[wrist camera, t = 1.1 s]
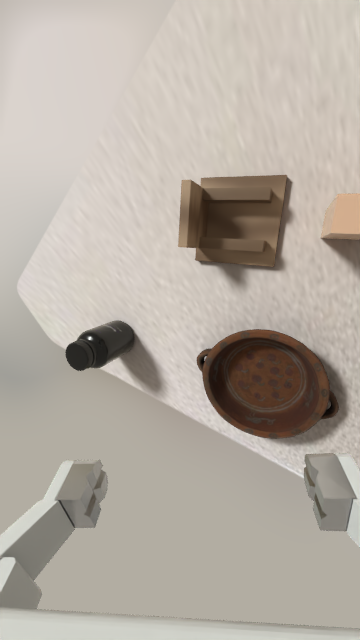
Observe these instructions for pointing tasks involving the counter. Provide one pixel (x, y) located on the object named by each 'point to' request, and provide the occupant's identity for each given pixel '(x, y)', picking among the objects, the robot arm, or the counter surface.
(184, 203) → the tan railed base plate
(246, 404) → the dish
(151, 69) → the counter surface
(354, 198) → the clay block
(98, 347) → the supplement bottle
